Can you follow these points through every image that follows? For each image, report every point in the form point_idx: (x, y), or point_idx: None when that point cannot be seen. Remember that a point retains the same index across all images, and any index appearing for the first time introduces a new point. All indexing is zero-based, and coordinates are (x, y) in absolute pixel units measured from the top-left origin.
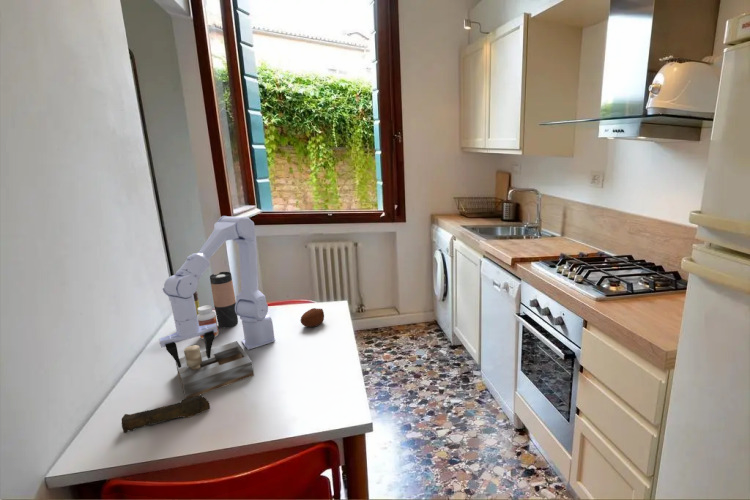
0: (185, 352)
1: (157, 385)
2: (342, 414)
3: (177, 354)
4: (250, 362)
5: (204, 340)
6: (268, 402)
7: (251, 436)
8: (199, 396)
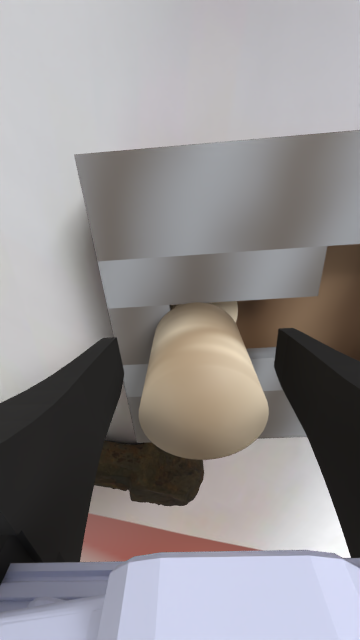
0: (150, 435)
1: (24, 235)
2: None
3: (90, 478)
4: None
5: (351, 411)
6: (325, 494)
7: (250, 540)
8: (182, 503)
